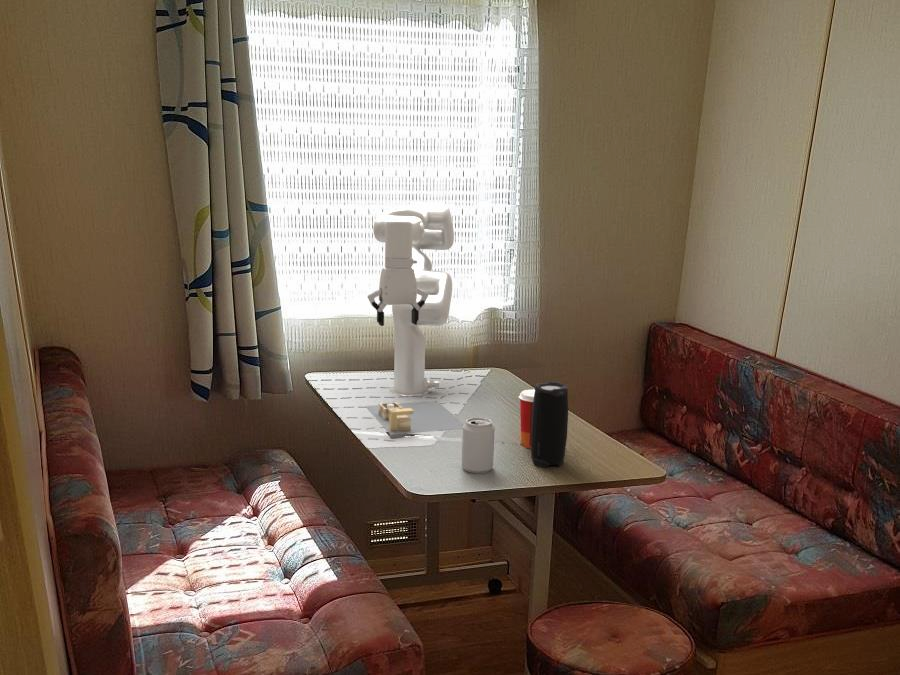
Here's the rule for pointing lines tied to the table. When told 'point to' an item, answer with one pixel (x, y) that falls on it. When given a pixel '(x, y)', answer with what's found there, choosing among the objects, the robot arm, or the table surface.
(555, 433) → the portable speaker
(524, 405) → the paper cup
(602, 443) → the table surface
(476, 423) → the can
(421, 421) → the slate base
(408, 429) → the wooden link
